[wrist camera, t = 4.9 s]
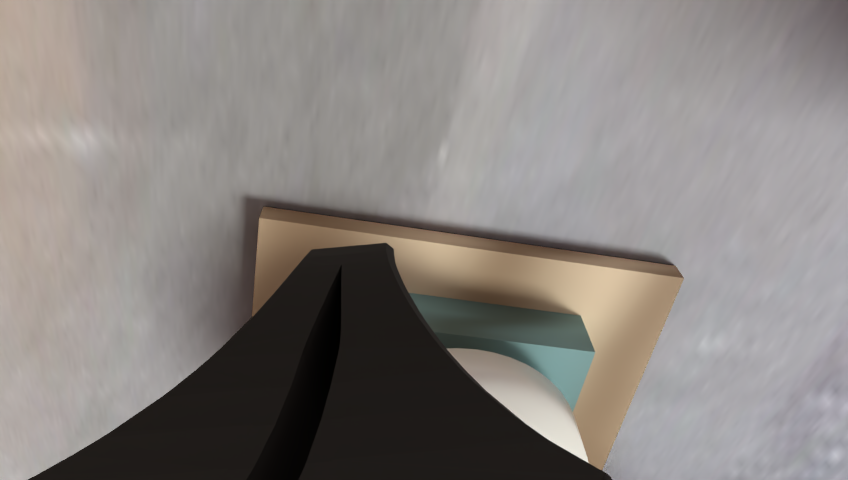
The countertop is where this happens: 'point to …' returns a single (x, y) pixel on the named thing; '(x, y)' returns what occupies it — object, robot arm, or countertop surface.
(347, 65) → the countertop surface
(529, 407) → the disc
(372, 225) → the dispenser base
